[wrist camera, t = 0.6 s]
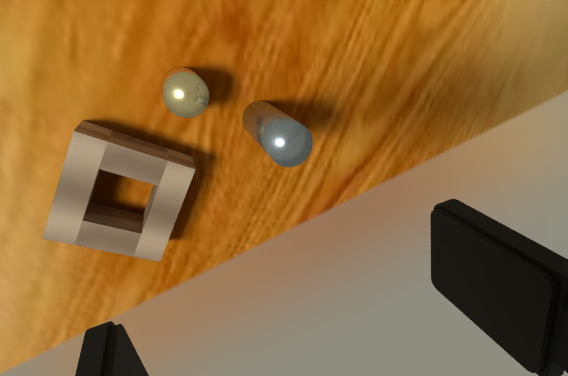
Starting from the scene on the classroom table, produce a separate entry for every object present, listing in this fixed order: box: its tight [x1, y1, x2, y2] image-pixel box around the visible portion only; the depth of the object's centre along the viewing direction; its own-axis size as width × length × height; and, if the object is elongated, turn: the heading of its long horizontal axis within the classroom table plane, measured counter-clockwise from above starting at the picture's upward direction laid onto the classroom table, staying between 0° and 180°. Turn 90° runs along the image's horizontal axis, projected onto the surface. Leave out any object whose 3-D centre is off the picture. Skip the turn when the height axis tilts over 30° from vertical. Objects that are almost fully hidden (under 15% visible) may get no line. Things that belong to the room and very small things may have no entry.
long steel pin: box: [242, 101, 313, 167], centre depth 33 cm, size 4×4×10 cm
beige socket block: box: [42, 121, 196, 262], centre depth 34 cm, size 10×10×4 cm
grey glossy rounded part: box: [163, 67, 209, 118], centre depth 32 cm, size 4×4×5 cm
